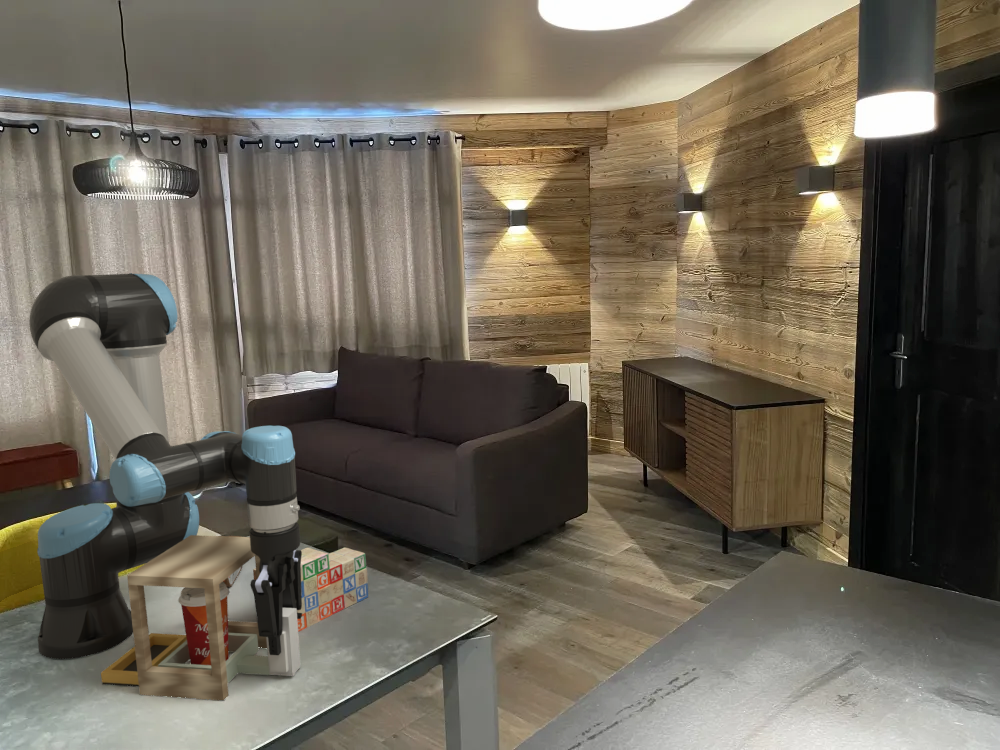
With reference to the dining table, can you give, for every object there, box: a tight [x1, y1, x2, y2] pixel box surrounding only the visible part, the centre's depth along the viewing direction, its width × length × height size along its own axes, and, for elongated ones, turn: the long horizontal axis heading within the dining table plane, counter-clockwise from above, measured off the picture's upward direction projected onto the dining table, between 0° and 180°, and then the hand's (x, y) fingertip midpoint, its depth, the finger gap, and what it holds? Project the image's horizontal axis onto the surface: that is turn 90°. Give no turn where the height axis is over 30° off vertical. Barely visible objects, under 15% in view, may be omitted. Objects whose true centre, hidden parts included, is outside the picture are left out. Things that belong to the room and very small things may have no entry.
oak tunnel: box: [126, 534, 267, 701], centre depth 121 cm, size 14×17×20 cm
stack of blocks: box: [252, 546, 369, 633], centre depth 140 cm, size 21×6×12 cm, turn 142°
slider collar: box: [158, 608, 302, 684], centre depth 121 cm, size 20×11×10 cm, turn 81°
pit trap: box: [100, 632, 187, 688], centre depth 124 cm, size 7×13×2 cm, turn 171°
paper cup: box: [177, 582, 230, 665], centre depth 121 cm, size 8×8×14 cm
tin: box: [223, 535, 243, 588], centre depth 157 cm, size 15×3×8 cm, turn 6°
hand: (284, 664), depth 120 cm, fingers closed on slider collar, 3 cm apart
